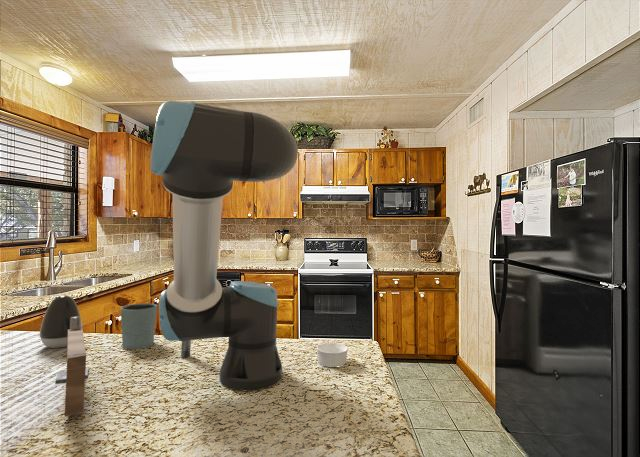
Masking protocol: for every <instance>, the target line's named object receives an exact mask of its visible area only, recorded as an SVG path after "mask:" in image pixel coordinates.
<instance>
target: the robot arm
mask: <svg viewBox="0 0 640 457" xmlns="http://www.w3.org/2000/svg"><path fill="white" fill-rule="evenodd" d="M293 135H294V134H292V132H291V131H290V130H289V129H288V128H287V127H286V126H284V124H283V123H281V122H279V121H277V119H274V118H272V117H270V116H268V115H265V114H262V113H260V112H253V111H244V110H239V109H238V110H237V109H232V108H226V107H220V106H214V105H209V104H202V103H197V102H195V101H190V102H186V101H178V100H177V101H176V100H167V101H164V102H163V103H162V104H161V105H160V107H159V109H158V112H157V115H156V121H155V126H154V132H153V138H152V139H153V140H152V144H151V153H150V172H151V173H152V174H154V175H156V176H158V177H159V176H161V180H162V182H161V183H162V186H163V188H164V189H165V190H166V191H167V192H168V193H170V194H171V195H172V244H173V246H172V247H173V250H172V252H173V280H172V281H171V282H170V283H169V285H168V286H167V289H164V290H163V291H162V292H161V293H160V295H159V296H160V297H159V302H158V314H159V327H160V332H161V334H162V337H163V338H164V339H165V340H167V341H169V342H172V341H173V342H176V341H177V342H178V341H179V342H182V341H186V340H191V341H194V340H205V339H206V340H207V339H209V340H210V339H218V338H228V346H227V350H226V352H225V355H224V357H223V360H222V363H221V366H220V370H219V382H220V384H221V385H223V386H224V387H225V386H226V388H228V389H230V388H231V390H234V389H235V390H236V391H243V390H250V391H259V390H263V388H264V389H267V388H271V387H272V385H273V386H274V384H275V385H276V384H278V383H279V382H280V381H281V380H282V378H283V364H282V362H281V358H280V355H279V354H280V353H279V351H278V347H277V324H278V323H277V322H278V307H279V304H278V292H277V289H276V288H275V287H273V286H272V285H269V284H265V283H260V282H255V281H248V280H245V281H244V280H234V281H231V282H230V284H229V287H223V286H222V284H221V282H220V281H219V279H217V274H218V262H219V250H220V248H219V247H220V236H221V224H222V215H223V214H222V211H223V201H224V197H226V196H227V195H229V194H230V193H231V191H232V190H233V187H234V186H233V184H234V182H244V183H245V182H249V183H258V182H268V181H272V180H276V179H279V178H282V177H284V176H285V175H287V174H288V173H289V172H291V171H292V170H293V168H294V167H295V165H296V163H297V160H298V155H299V150H298V149H299V148H298V145H297V141H296V139H295V137H294V136H293ZM280 379H281V380H280ZM279 380H280V381H279ZM278 381H279V382H278ZM277 382H278V383H277ZM258 389H259V390H258Z"/></svg>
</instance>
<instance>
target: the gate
mask: <svg viewBox="0 0 640 457" xmlns="http://www.w3.org/2000/svg"><path fill="white" fill-rule="evenodd" d="M83 330H84V329H83V327H82V328H78V329H69V330H68V342H67V346H66V347H67V353H66V355H67V356H66V357H67V358H66V361H67V362H66V370H67V377H66V381H65V397H64V398H65V399H64V400H65V402H64V403H65V404H64V417H70V416H74V415H78V414H81V413H84V411H85V410H84V409H85V407H84V406H85V390H86V389H85V387H86V386H85V385H86V378H85V370H86V367H87V365H86V364H87V353H86V352H87V351H86V344H85V337H84V335H85V334H84V331H83Z"/></svg>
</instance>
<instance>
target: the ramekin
mask: <svg viewBox="0 0 640 457" xmlns="http://www.w3.org/2000/svg"><path fill="white" fill-rule="evenodd" d="M348 351H349V348H348V347H347V345H344V344H342V343H337V342H326V343H325V342H324V343H321V344H318V345H317V346H316V354H317V355H316V356H317V362H318V364H319V365H320V364H321V365H323V366H322V367H324V366H328V367H337V366H341V365H344V364H345V363H346V364H347V358H348ZM346 364H345V365H346ZM321 365H320V366H321ZM345 365H344V366H345ZM328 367H327V368H328Z"/></svg>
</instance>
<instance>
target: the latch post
mask: <svg viewBox="0 0 640 457" xmlns="http://www.w3.org/2000/svg"><path fill="white" fill-rule="evenodd" d="M191 344H192V340H186V341H181V350H180V351H181V352H180V353H181V354H180V357H181V358H182V359H188V358H191V347H192V346H191Z"/></svg>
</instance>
